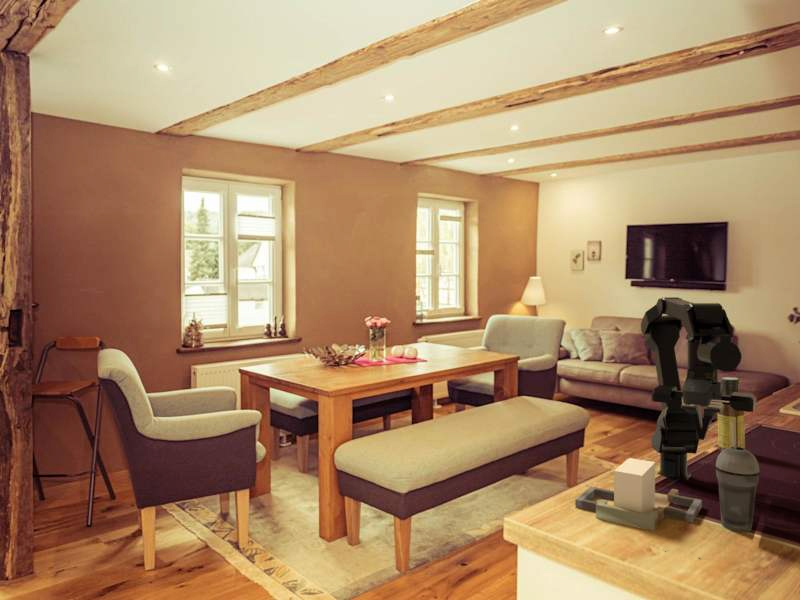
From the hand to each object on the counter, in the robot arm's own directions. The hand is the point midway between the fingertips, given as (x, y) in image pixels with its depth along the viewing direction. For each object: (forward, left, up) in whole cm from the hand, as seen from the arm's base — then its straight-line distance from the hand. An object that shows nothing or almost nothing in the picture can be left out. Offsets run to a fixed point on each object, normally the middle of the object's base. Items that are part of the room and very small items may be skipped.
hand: (701, 439), depth 125 cm
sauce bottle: (-43, 0, -13) cm, 45 cm away
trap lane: (+13, -9, -13) cm, 20 cm away
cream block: (+17, -9, -12) cm, 22 cm away
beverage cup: (+13, +8, -13) cm, 20 cm away
